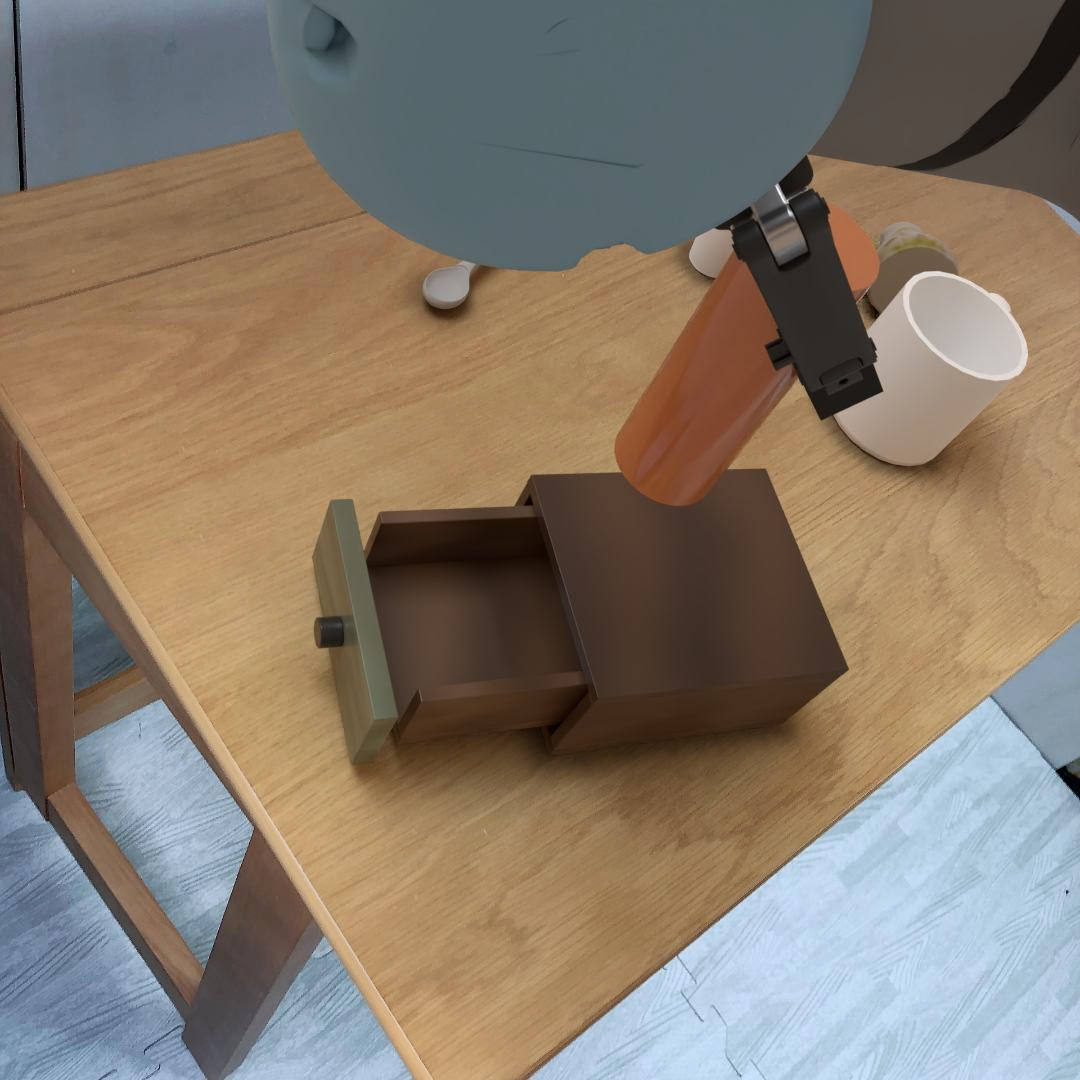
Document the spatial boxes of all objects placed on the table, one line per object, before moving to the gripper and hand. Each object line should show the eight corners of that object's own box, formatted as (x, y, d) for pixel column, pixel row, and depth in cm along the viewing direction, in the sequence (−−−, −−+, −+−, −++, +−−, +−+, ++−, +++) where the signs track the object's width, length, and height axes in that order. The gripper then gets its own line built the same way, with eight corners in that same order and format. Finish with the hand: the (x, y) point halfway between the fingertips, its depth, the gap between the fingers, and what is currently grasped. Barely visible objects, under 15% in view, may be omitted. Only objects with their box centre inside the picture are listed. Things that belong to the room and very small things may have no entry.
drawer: (327, 769, 58) (349, 723, 54) (290, 557, 64) (307, 499, 59) (604, 732, 64) (645, 688, 60) (548, 543, 70) (581, 490, 66)
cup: (664, 245, 91) (734, 121, 81) (710, 231, 94) (782, 110, 84) (706, 294, 89) (782, 173, 80) (751, 278, 92) (830, 160, 83)
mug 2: (897, 488, 84) (985, 401, 76) (801, 392, 87) (877, 298, 79) (977, 422, 92) (1065, 336, 84) (887, 335, 94) (965, 243, 86)
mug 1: (921, 261, 102) (1004, 230, 92) (873, 351, 100) (953, 329, 90) (860, 209, 99) (938, 172, 90) (810, 300, 97) (885, 272, 88)
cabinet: (548, 756, 64) (598, 698, 58) (491, 545, 70) (530, 474, 64) (782, 724, 70) (849, 669, 64) (711, 533, 76) (765, 467, 70)
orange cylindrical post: (711, 519, 52) (883, 308, 41) (609, 487, 51) (758, 262, 40) (715, 436, 55) (876, 219, 44) (618, 405, 54) (758, 174, 43)
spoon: (408, 299, 78) (417, 277, 77) (494, 228, 86) (503, 207, 85) (444, 324, 78) (453, 303, 77) (526, 250, 86) (536, 230, 85)
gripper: (422, -213, 34) (673, 231, 54) (595, 236, 25) (818, 566, 45) (652, -372, 32) (825, 150, 52) (922, 59, 23) (1006, 485, 43)
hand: (822, 344), depth 48 cm, fingers closed on orange cylindrical post, 5 cm apart
